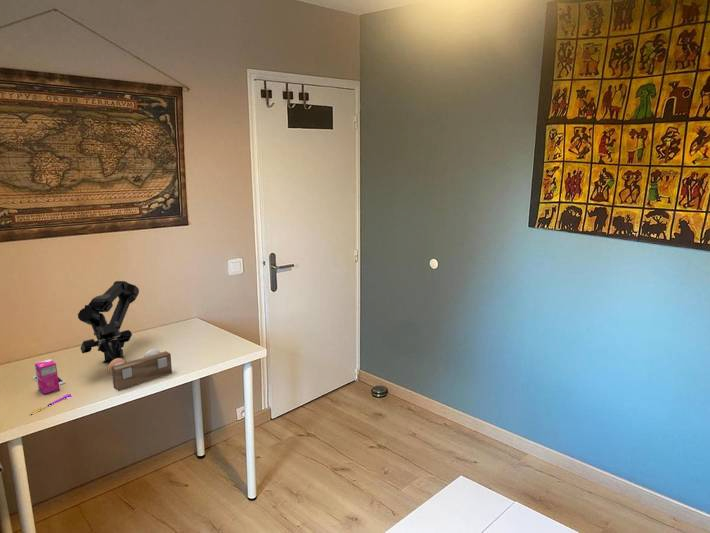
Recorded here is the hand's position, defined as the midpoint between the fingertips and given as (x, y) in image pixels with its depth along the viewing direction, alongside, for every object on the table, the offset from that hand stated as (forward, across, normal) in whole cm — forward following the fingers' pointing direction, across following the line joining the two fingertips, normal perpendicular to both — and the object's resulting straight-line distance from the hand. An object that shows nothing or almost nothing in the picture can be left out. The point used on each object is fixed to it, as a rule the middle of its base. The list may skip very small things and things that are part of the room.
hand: (114, 359), depth 202 cm
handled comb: (+10, -26, +2) cm, 28 cm away
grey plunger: (+10, +13, -2) cm, 17 cm away
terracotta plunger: (+9, -1, -1) cm, 9 cm away
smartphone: (-6, -19, +19) cm, 28 cm away
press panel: (+13, +6, -1) cm, 14 cm away
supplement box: (0, -22, +12) cm, 25 cm away
